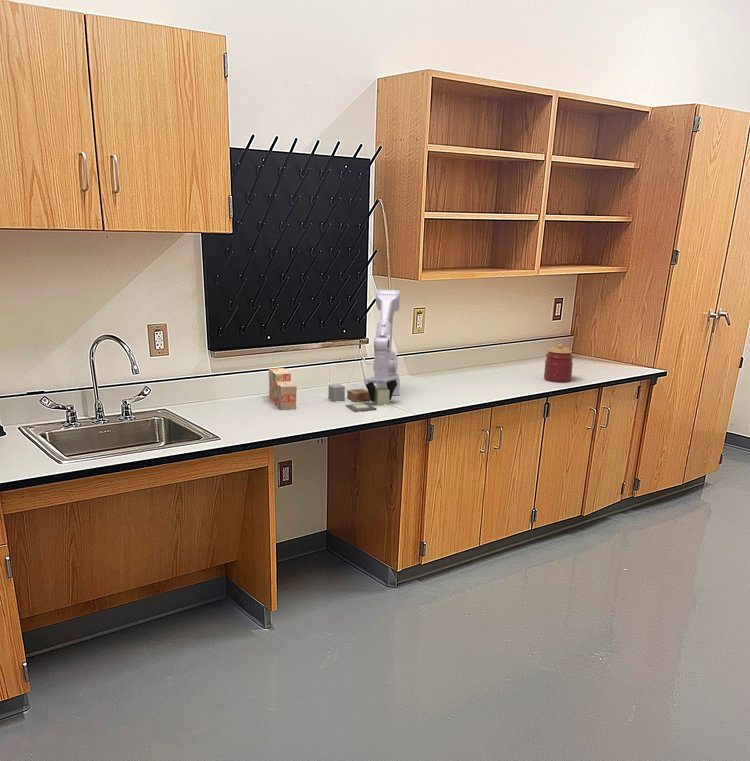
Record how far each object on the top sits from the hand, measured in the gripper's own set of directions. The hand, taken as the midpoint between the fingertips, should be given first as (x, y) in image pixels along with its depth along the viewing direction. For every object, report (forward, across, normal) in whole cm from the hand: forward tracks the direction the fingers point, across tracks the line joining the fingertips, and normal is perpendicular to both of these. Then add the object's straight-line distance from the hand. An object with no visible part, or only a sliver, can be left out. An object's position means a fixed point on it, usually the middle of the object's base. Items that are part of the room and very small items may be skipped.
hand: (380, 400), depth 272 cm
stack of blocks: (+2, -36, +15) cm, 39 cm away
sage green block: (+2, 0, 0) cm, 2 cm away
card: (+1, -11, -4) cm, 11 cm away
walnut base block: (+2, -6, +8) cm, 10 cm away
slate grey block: (+2, -14, +11) cm, 18 cm away
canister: (+2, +100, +10) cm, 100 cm away
